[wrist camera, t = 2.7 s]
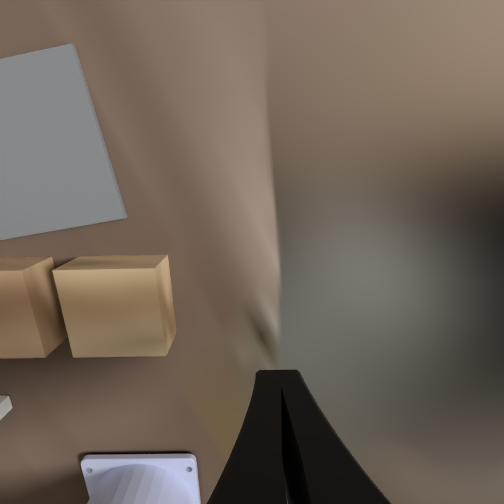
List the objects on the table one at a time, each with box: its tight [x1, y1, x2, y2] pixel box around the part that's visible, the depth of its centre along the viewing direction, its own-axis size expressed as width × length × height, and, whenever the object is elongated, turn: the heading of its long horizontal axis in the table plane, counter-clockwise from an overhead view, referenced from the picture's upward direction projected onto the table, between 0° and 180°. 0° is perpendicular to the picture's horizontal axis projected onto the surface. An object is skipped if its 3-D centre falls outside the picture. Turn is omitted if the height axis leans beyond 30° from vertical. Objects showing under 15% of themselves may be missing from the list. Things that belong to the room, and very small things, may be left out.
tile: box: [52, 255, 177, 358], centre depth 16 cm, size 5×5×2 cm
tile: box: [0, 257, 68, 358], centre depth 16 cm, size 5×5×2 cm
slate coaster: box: [0, 44, 127, 240], centre depth 14 cm, size 8×8×1 cm
